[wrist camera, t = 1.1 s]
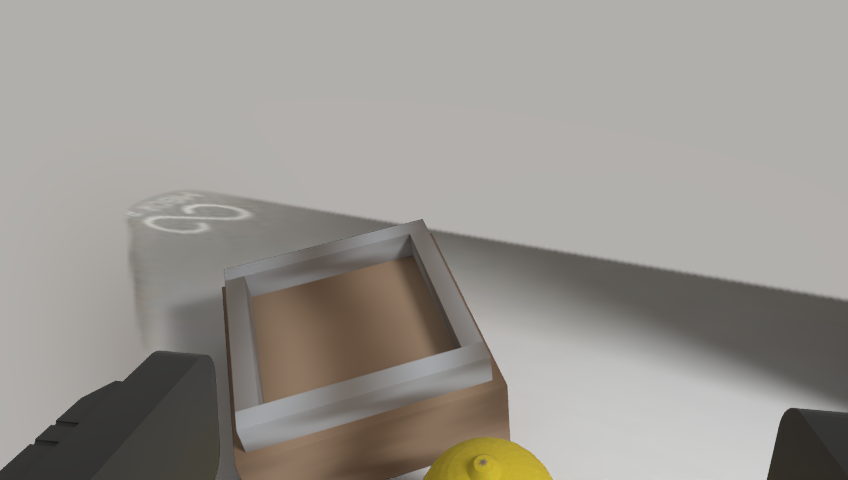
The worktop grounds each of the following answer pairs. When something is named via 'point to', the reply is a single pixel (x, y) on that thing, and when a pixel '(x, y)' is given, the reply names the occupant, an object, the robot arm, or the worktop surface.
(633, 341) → the worktop surface
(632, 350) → the worktop surface
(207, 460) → the robot arm
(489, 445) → the lemon
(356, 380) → the square wooden box
